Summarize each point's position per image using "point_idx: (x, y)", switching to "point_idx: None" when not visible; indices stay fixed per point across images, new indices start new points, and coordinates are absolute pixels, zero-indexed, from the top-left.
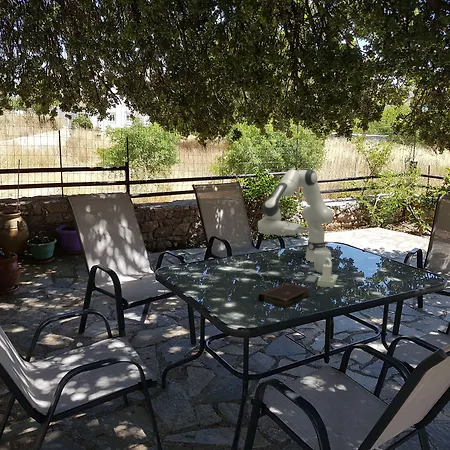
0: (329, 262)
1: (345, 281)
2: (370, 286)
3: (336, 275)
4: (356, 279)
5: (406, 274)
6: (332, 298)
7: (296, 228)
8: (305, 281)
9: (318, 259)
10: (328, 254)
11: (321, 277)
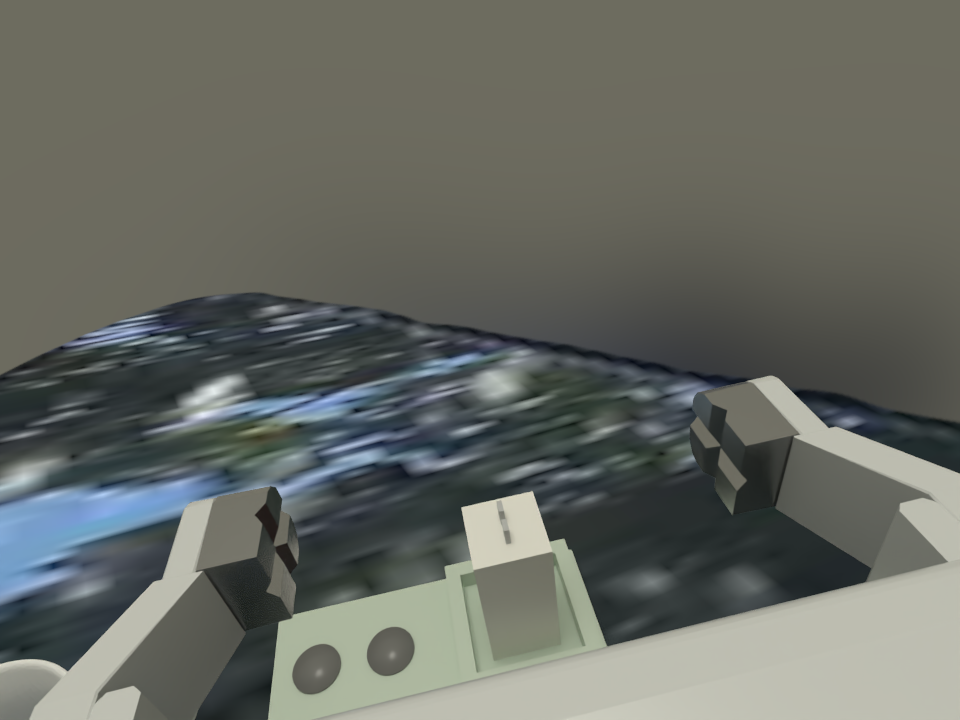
0: None
1: (357, 558)
2: (397, 428)
3: (297, 623)
4: None
5: (109, 385)
6: None
7: (918, 570)
8: None
9: None
10: (61, 667)
11: (487, 670)
